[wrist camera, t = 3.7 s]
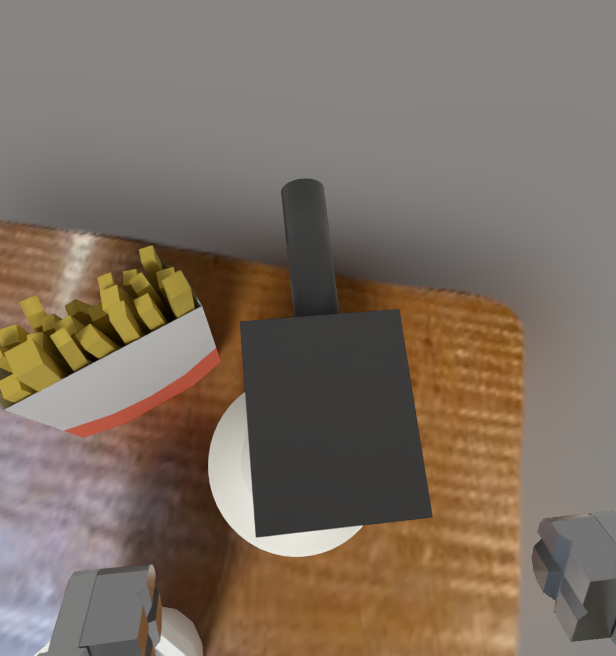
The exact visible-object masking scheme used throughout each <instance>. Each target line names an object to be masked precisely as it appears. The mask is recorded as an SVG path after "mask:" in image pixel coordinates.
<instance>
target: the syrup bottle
mask: <svg viewBox="0 0 616 656" xmlns="http://www.w3.org/2000/svg"><path fill="white" fill-rule="evenodd" d="M208 473H209V482H210V486H211V490H212V494H213V497H214V499H215V502H216V504H217V507H218V508H219V510H220V512H221V514H222V515H223V517H224V518H225V520H226V521H227V522H228V524H229V525H230V526H231V527H232V528H233V529H234V530H235V531H236V532H237V533H238V534H239V535H240V536H241V537H242V538H244V539H245V540H246V541H248V542H249V543H251V544H253V545H254V546H256V547H258V548H260V549H262V550H265V551H267V552H270V553H274V554H278V555H282V556H292V557H299V556H310V555H315V554H320V553H323V552H326V551H328V550H331V549H333V548H335V547H337V546H339V545H341V544H342V543H344V542H345V541H347V540H348V539H350V538H351V537H352V536H353V535H354V534H355V533H356V532H358V531H359V530H360V529H361V527H362V526H363V525H362V526H353V527H345V528H336V529H328V530H319V531H310V532H302V533H293V534H284V535H276V536H267V537H258V538H256V536H255V522H254V508H253V495H252V481H251V467H250V454H249V440H248V426H247V413H246V399H245V392H244V393H243V394H242V395H241V396H239V397H238V398H237V399H236V400H235V401H234V402H233V403H232V404H231V405H230V407H229V408H228V409H227V411H226V412H225V413H224V415H223V416H222V418H221V420H220V421H219V423H218V425H217V427H216V430H215V432H214V435H213V438H212V442H211V445H210V451H209V458H208Z"/></svg>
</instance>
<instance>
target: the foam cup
mask: <svg viewBox="0 0 616 656" xmlns="http://www.w3.org/2000/svg"><path fill="white" fill-rule="evenodd" d="M49 645H50V642H49V643H48V644H47V645H46V646H44V647H43V648H42V649H41V650H40V651H39V652H38V653H36V654H35V655H34V656H37V655H38V654H39V653H44V652H48V648H49ZM154 650H155V655H156V656H203V645H202V641H201V639H200V637H199V635H198V632H197V630H196V628H195V625H194V623H193V622H192V621H191V620H190V619H188V618H187V617H186V616H185V615H183V614H182V613H181V612H180V611H179V610H177V609H172V608H167V607H162V629H161V639H160V642H159V643H158V645H157V646H156V647H155V648H154Z"/></svg>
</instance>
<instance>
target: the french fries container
mask: <svg viewBox="0 0 616 656" xmlns="http://www.w3.org/2000/svg"><path fill="white" fill-rule="evenodd" d="M139 252H140V257H141V263H142V265H143V267H144V268H145V270H146V272H147V274H148V275H149V277H148V278H147V279H146V277H145V276H144V275H143V274H142V272H141V273H139V272H138V271H137V269H133V270H128V271H123V286H124V287H125V289H126V290H127V291H128V293H129V294H130V296H128V295H127V294H126V293H125V292H124V291H123V290H122V289H121V288H120V287H119V286H118V285H117V283H116V281H115V279H114V278H113V276H112V274H111V272H110V273H108V274H105V275H103V276H100V277H98V283H99V287H100V295H101V301H102V302H101V303H99V304H97V305H95V306H91V305H88V304H86V303H83V302H81V301H79V300H76V299H75V300H73V301H72V302H70V303H69V304H67V305H65V307H66V310H67V313H68V316H67V317H66V318H64V319H61V318H60V317H58V316H57V315H55V314H51V315H48V316H47V315H46V313H45V311H44V309H43V307H42V305H41V303H40V301H39V299H38V297H37V295H35V296H33V297H30V298H28V299H26V300H23V301H21V302H19V303H20V305H21V307H22V309H23V311H24V313H25V315H26V317H27V319H28V321H29V323H30V325H31V327H32V329H33V330H34V332H35V333H34V334H29V333H28V332H26V331H25V330H24V329H22V328H21V327H20V326H18V325H17V324H16V325H13V326H9V327H6V328H3V329H0V342H1V343H0V402H1V404H2V406H3V409H4V410H6V411H9V412H12V413H15V414H17V415H20V416H23V417H26V418H29V419H32V420H35V421H38V422H40V423H43V424H46V425H49V426H52V427H55V428H58V429H61V430H63V431H66V432H69V433H72V434H75V435H78V436H81V437H86V436H89V435H92V434H95V433H98V432H101V431H104V430H107V429H110V428H112V427H115V426H118V425H121V424H124V423H127V422H129V421H131V420H133V419H134V418H136V417H138V416H140V415H142V414H143V413H145V412H147V411H149V410H151V409H152V408H154V407H156V406H158V405H160V404H161V403H163V402H165V401H167V400H169V399H170V398H172V397H174V396H176V395H178V394H179V393H181V392H183V391H185V390H187V389H188V388H190V387H192V386H193V385H194V384H196V383H197V382H198V381H199V380H200V379H201V378H202V377H204V376H205V375H206V374H207V373H208V372H209V371H211V370H212V369H213V368H214V367H215V366H216V365H217V364H219V363H220V362H221V361H220V358H219V355H218V352H217V349H216V346H215V343H214V340H213V337H212V334H211V331H210V328H209V325H208V322H207V319H206V316H205V313H204V310H203V307H202V305H201V303H200V301H199V300H198V298H197V296H196V295H195V293H194V291H193V289H192V288H191V286H190V284H189V282H188V281H187V279H186V277H185V276H184V275H183V273H182V271H181V270H180V271H177V270H176V269H174V267H171V266H169V265H168V264H166V263H165V262H162V263H161V261H160V259H159V257H158V255H157V253H156V251H155V249H154V247H153V245H151V246H148V247H145V248H142V249H139ZM81 323H82V324H81Z"/></svg>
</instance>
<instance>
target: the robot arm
mask: <svg viewBox="0 0 616 656" xmlns="http://www.w3.org/2000/svg"><path fill="white" fill-rule="evenodd" d="M538 533H539V535H540V537H541V538H542V539H541V540H540V541H539V542H538V543H537V544H536V545H535V546H534V548H533V553H532V563H533V570H534V573H535V576H536V579H537V582H538V583H539V585H540V587H541V589H542V591H543V592H544V593H545V594H546V595H548V596H549V597H551V598H552V599H553V600H555V601H556V603H555V609H554V613H555V614H556V616H557V618H558V620H559V621H560V623H561V625H562V627H563V629H564V630H565V632H566V634H567V635H568V637H569V639H570V641H571V642H574V641H583V640H593V639H602V638H612V639H611V640H612V641H613V642H614V643H615V644H616V513H614V512H613V511H605V512H597V513H589V514H585V513H584V514H576V515H569V516H561V517H553V518H546V519H543V520H542V521H541V522H540V523H539V527H538ZM155 578H156V575H155V571H154V567H153V565H139V566H128V567H117V568H105V569H96V570H86V571H76V572H74V573H73V574H72V576H71V577H70V579H69V581H68V585H67V588H66V591H65V595H64V598H63V601H62V605H61V608H60V611H59V615H58V618H57V621H56V625H55V628H54V631H53V635H52V638H51V641H50V645H49V648H48V652H44V653H39V654H38V655H37V656H156V655H155V650H154V648H155V647H156V646H157V645H158V643H159V642H160V639H161V629H162V605H161V597H160V592H159V590H157V589H156V588H154V586H155Z"/></svg>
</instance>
